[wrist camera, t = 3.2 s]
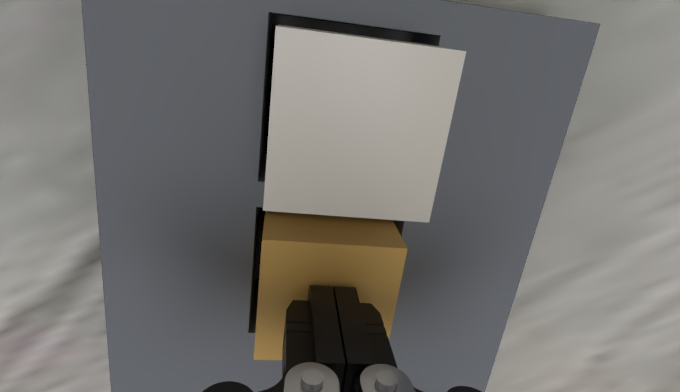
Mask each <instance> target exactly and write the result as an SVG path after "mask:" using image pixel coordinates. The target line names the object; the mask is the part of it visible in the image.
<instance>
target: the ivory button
mask: <svg viewBox="0 0 680 392" xmlns="http://www.w3.org/2000/svg"><path fill="white" fill-rule="evenodd" d="M465 56H466V51H461V50H456V49H450V48H445V47H439V46H434V45H428V44H422V43H416V42H408V41H401V40H393V39H386V38H378V37H371V36H363V35H356V34H348V33H341V32H333V31H326V30H318V29H311V28H303V27H296V26H288V25H281V24H279V25H277V26H276V29H275V43H274V58H273V72H272V86H271V101H270V115H269V130H268V144H267V159H266V173H265V187H264V202H263V211H273V212H287V213H301V214H315V215H329V216H343V217H357V218H371V219H385V220H399V221H413V222H427V223H429V221H430V216H431V212H432V207H433V202H434V198H435V193H436V189H437V184H438V179H439V175H440V170H441V166H442V161H443V157H444V152H445V147H446V143H447V138H448V134H449V129H450V124H451V120H452V115H453V111H454V106H455V101H456V97H457V92H458V88H459V83H460V79H461V74H462V69H463V65H464V60H465Z"/></svg>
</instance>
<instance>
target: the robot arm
mask: <svg viewBox="0 0 680 392" xmlns="http://www.w3.org/2000/svg"><path fill="white" fill-rule="evenodd" d="M202 392H253V391H252V390H251V389H250V388H249V387H248V386H246V385H244V384H242V383H239V382H234V381H225V382H219V383H216V384H213V385H211V386H209V387H208V388H206V389H205V390H204V391H202ZM259 392H423V391H421V390H418V389H416V388H415V387H413V385H412V382H411V381H410V379H409V377H408V376H407V375H406V374H405V373H404V372H403V371H401V370H400V369H398V367H397V364H396V361H395V358H394V355H393V352H392V348H391V345H390V342H389V339H388V336H387V333H386V329H385V327H384V323H383V320H382V317H381V314H380V312H379V311H378V310H377V309H376V308H375V307H374V306H373V305H372V304H371V303H360V301H359V297H358V293H357V289H356V287H344V286H333V287H332V286H322V285H310V286H309V291H308V299H307V301H306V300H293V301H292V302H291V303H290V305H289V306H288V308H287V309H286V317H285V328H284V338H283V348H282V379H281V380H280V381H279V382H278V383H277V384H276V385H274V386H273V387H271V388H269V389H266V390H263V391H259ZM447 392H481V391H480V390H477V389H475V388H472V387H468V386H456V387H453V388H451V389H449V390H448V391H447Z"/></svg>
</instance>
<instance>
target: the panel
mask: <svg viewBox="0 0 680 392" xmlns="http://www.w3.org/2000/svg"><path fill="white" fill-rule="evenodd" d="M82 13H83V26H84V40H85V53H86V66H87V79H88V92H89V105H90V118H91V132H92V145H93V158H94V171H95V184H96V197H97V210H98V224H99V237H100V250H101V263H102V276H103V289H104V302H105V315H106V329H107V342H108V355H109V368H110V381H111V392H202V391H204V390H205V389H206V388H208V387H209V386H211V385H213V384H216V383H219V382H225V381H234V382H239V383H242V384H244V385H246V386H248V387H249V388H250V389H251V390H252V391H253V392H259V391H263V390H266V389H269V388H271V387H273V386H274V385H276V384H277V383H278V382H279V381H280V380H281V379H282V360H254V346H255V331H256V317H257V303H258V289H259V288H254V281H255V265H256V250H257V235H258V220H259V207H263V202H264V187H265V173H266V159H267V155H263V144H264V129H265V114H266V99H267V84H268V69H269V54H270V38H271V23H272V13H274V14H281V15H289V16H296V17H303V18H310V19H318V20H325V21H332V22H340V23H347V24H354V25H362V26H369V27H376V28H384V29H391V30H398V31H405V32H413V33H414V38H413V42H416V43H422V44H428V45H434V46H439V47H445V48H450V49H456V50H461V51H466V56H465V60H464V65H463V69H462V74H461V79H460V83H459V88H458V92H457V97H456V101H455V106H454V111H453V115H452V120H451V124H450V129H449V134H448V138H447V143H446V147H445V152H444V157H443V161H442V166H441V170H440V175H439V179H438V184H437V189H436V193H435V198H434V202H433V207H432V212H431V216H430V221H429V223H427V222H413V221H399V220H393V222H394V224H395V225H396V227H397V229H398V231H399V233H400V235H401V237H402V239H403V241H404V243H405V245H406V247H407V254H406V259H405V264H404V269H403V274H402V279H401V284H400V289H399V293H398V298H397V303H396V308H395V313H394V318H393V323H392V328H391V333H390V338H389V342H390V345H391V348H392V352H393V355H394V358H395V361H396V364H397V367H398V369H400V370H401V371H403V372H404V373H405V374H406V375H407V376H408V377H409V379H410V381H411V382H412V385H413V387H415V388H416V389H418V390H421V391H423V392H447V391H448V390H449V389H451V388H453V387H456V386H468V387H472V388H475V389H477V390H480V391H481V392H485V389H486V386H487V383H488V380H489V376H490V373H491V370H492V367H493V364H494V361H495V357H496V354H497V351H498V348H499V345H500V342H501V338H502V335H503V332H504V329H505V326H506V322H507V319H508V316H509V313H510V310H511V307H512V303H513V300H514V297H515V294H516V291H517V288H518V284H519V281H520V278H521V275H522V272H523V268H524V265H525V262H526V259H527V256H528V253H529V249H530V246H531V243H532V240H533V237H534V234H535V230H536V227H537V224H538V221H539V218H540V214H541V211H542V208H543V205H544V202H545V199H546V195H547V192H548V189H549V186H550V183H551V179H552V176H553V173H554V170H555V167H556V164H557V160H558V157H559V154H560V151H561V148H562V145H563V141H564V138H565V135H566V132H567V129H568V125H569V122H570V119H571V116H572V113H573V110H574V106H575V103H576V100H577V97H578V94H579V91H580V87H581V84H582V81H583V78H584V75H585V71H586V68H587V65H588V62H589V59H590V56H591V52H592V49H593V46H594V43H595V40H596V37H597V33H598V30H599V27H600V24H598V23H591V22H584V21H577V20H571V19H564V18H557V17H551V16H544V15H537V14H531V13H524V12H517V11H511V10H504V9H497V8H490V7H484V6H477V5H470V4H464V3H457V2H450V1H444V0H82Z"/></svg>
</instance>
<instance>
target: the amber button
mask: <svg viewBox="0 0 680 392" xmlns="http://www.w3.org/2000/svg"><path fill="white" fill-rule="evenodd" d="M406 254H407V247H406V245H405V243H404V241H403V239H402V237H401V235H400V233H399V231H398V229H397V227H396V225H395V224H394V222H393V220H385V219H371V218H357V217H343V216H329V215H315V214H301V213H287V212H273V211H265V218H264V227H263V235H262V246H261V260H260V275H259V289H258V303H257V317H256V331H255V346H254V360H282V348H283V338H284V328H285V317H286V309H287V308H288V306H289V305H290V303H291V302H292V301H293V300H306V301H307V299H308V291H309V286H310V285H322V286H332V287H333V286H344V287H356V289H357V293H358V297H359V301H360V303H371V304H372V305H373V306H374V307H375V308H376V309H377V310H378V311H379V312H380V314H381V317H382V320H383V323H384V327H385V329H386V333H387V336H388V339H389V338H390V333H391V328H392V323H393V318H394V313H395V308H396V303H397V298H398V293H399V289H400V284H401V279H402V274H403V269H404V264H405V259H406Z"/></svg>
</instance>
